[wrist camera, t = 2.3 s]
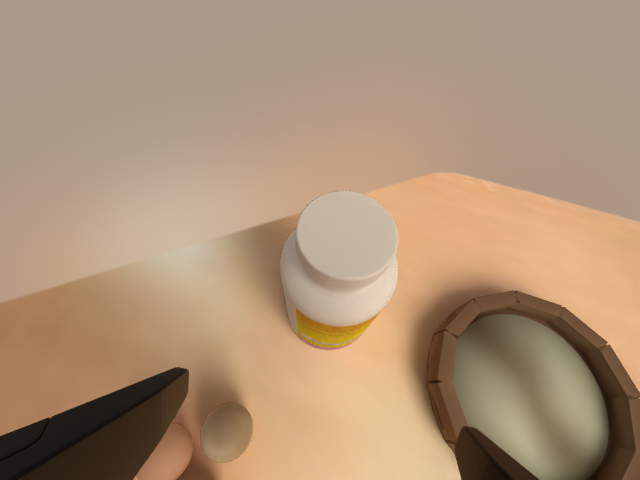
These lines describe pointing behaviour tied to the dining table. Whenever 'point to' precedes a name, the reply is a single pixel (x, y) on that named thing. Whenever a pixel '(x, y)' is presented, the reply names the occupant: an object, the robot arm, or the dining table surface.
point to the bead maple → (226, 432)
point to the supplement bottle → (338, 268)
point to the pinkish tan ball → (169, 455)
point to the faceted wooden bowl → (536, 388)
